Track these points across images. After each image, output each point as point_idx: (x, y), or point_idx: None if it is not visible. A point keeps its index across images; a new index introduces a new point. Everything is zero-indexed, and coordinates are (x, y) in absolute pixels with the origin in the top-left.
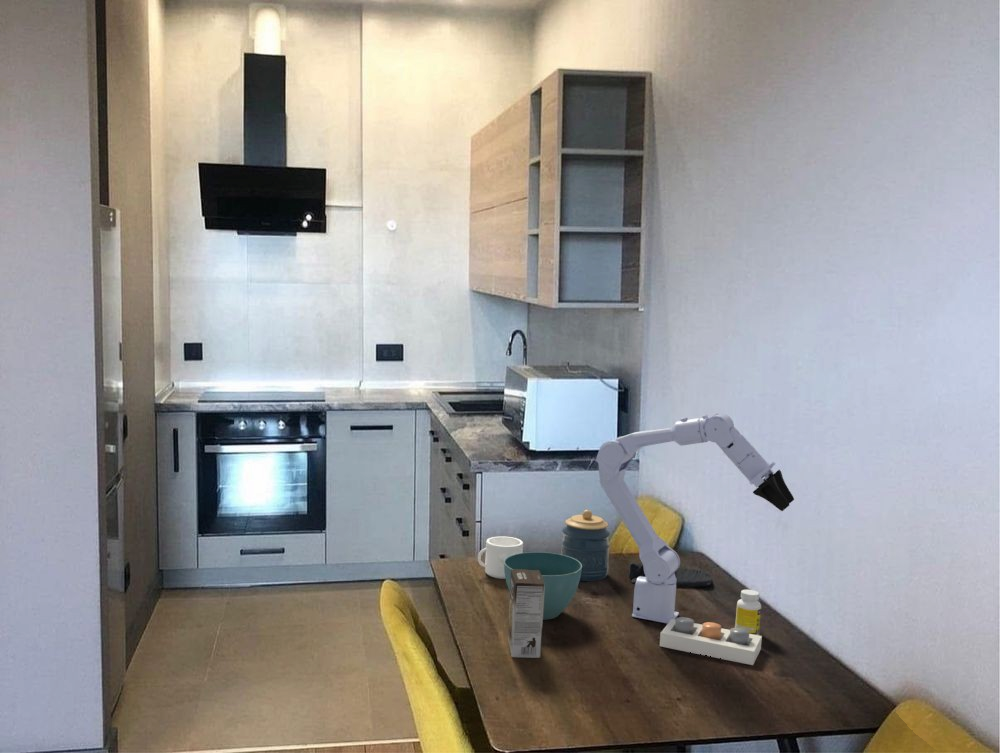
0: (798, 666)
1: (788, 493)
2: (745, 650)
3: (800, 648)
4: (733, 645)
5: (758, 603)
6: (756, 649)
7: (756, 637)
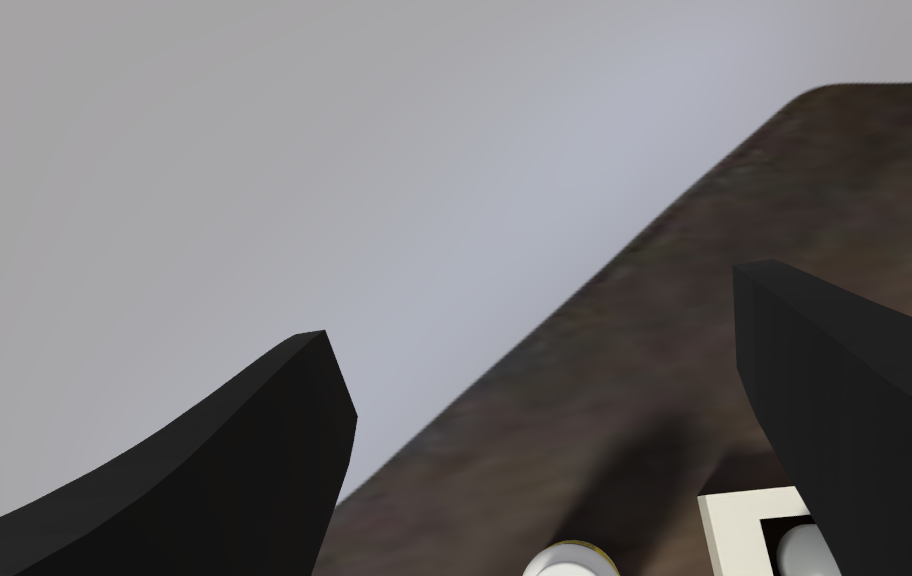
0: None
1: (284, 390)
2: None
3: (587, 382)
4: None
5: (569, 557)
6: None
7: (737, 509)
